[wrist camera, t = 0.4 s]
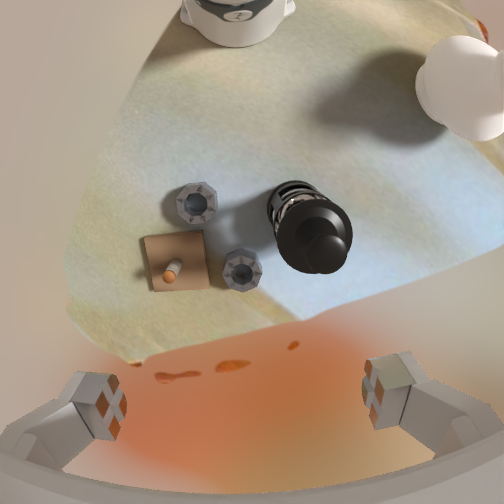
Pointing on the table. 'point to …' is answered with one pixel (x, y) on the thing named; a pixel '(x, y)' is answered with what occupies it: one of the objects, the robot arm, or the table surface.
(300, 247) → the french press
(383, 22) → the table surface
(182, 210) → the grey octagonal nut
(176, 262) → the keeper
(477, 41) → the decorative vase
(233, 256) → the grey octagonal ring
